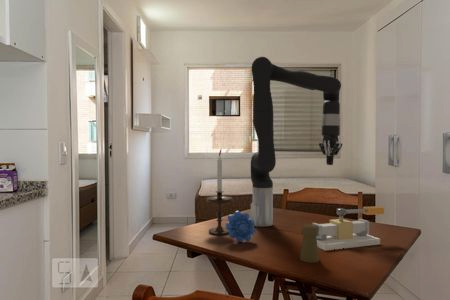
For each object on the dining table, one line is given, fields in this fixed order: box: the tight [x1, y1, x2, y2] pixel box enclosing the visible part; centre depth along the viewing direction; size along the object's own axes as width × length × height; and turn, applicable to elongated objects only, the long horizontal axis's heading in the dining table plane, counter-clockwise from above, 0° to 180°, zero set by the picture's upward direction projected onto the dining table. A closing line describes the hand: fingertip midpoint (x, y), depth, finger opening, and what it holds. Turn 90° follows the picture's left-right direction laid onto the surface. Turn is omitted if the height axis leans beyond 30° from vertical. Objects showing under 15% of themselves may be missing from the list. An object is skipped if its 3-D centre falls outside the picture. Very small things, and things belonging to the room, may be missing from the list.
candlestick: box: [206, 149, 233, 236], centre depth 145 cm, size 11×11×35 cm
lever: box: [336, 205, 385, 216], centre depth 133 cm, size 3×19×2 cm, turn 101°
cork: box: [299, 224, 320, 263], centre depth 112 cm, size 6×6×11 cm
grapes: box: [225, 210, 256, 243], centre depth 130 cm, size 12×7×12 cm, turn 104°
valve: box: [311, 215, 381, 252], centre depth 132 cm, size 24×14×10 cm, turn 109°
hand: (329, 164), depth 152 cm, fingers closed
